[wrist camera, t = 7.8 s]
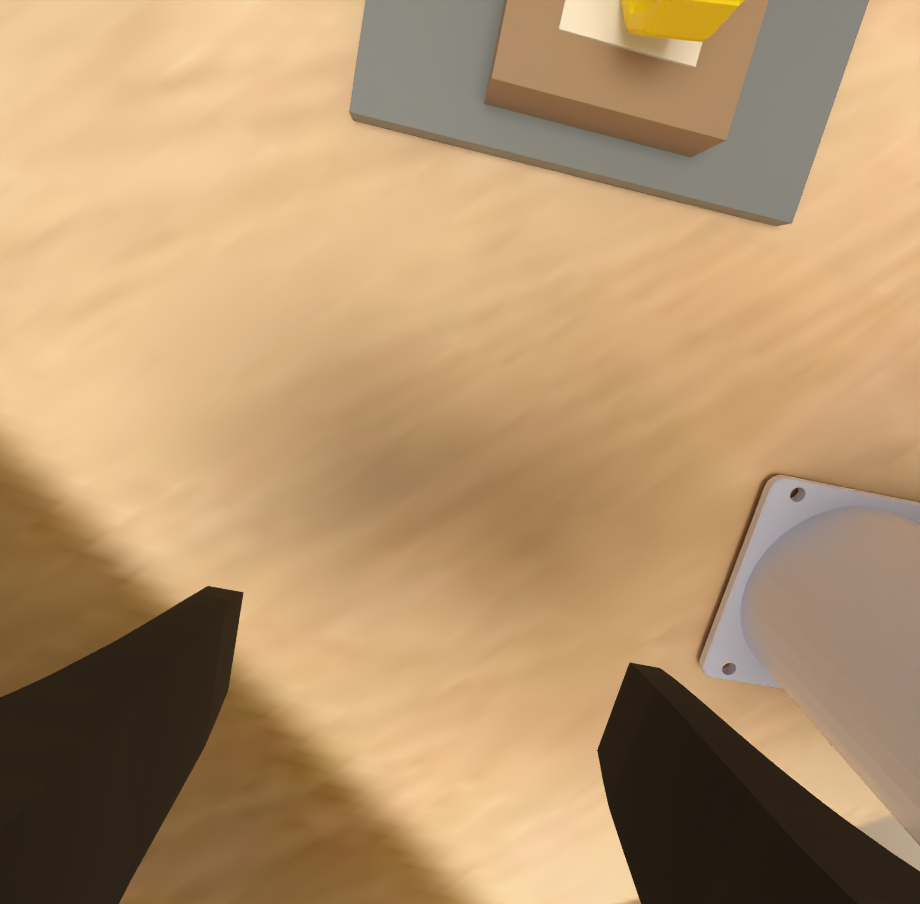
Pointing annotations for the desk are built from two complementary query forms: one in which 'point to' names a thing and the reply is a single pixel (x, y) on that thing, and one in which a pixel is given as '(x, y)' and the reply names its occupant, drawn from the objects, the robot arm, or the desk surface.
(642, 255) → the desk surface
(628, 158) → the base board
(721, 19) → the watch
